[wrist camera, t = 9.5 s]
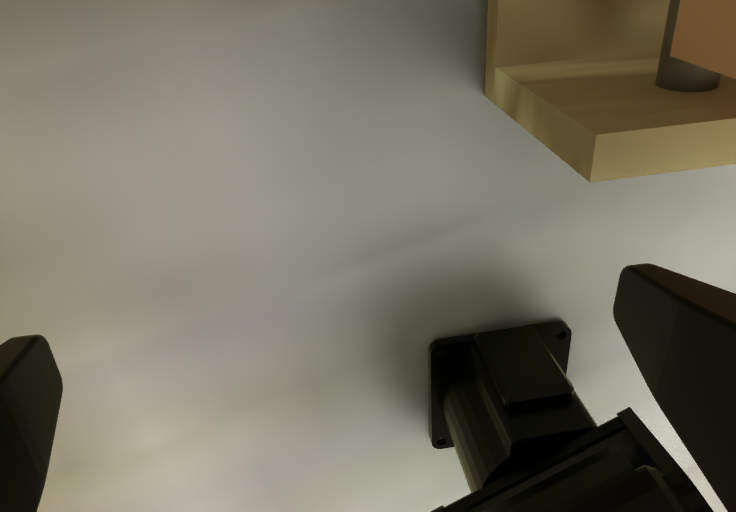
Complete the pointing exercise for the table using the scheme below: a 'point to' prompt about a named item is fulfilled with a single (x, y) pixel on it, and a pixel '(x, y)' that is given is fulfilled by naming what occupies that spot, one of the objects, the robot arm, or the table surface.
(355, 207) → the table surface
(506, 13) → the shelf frame
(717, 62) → the tan rectangular block
